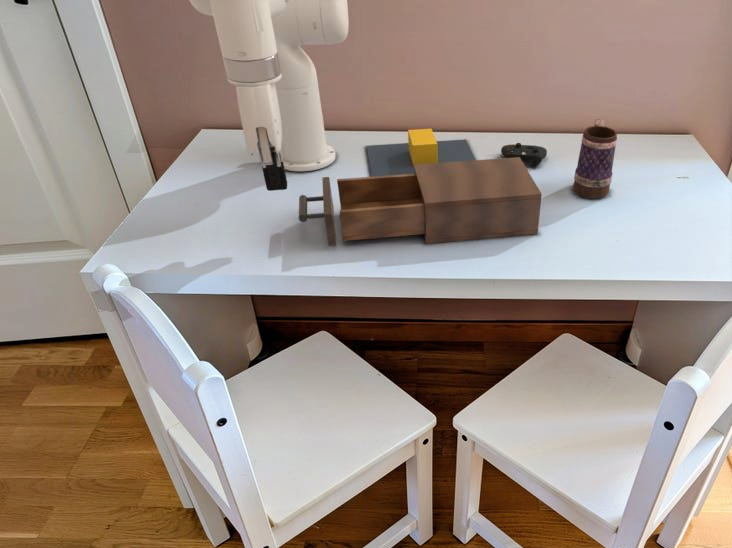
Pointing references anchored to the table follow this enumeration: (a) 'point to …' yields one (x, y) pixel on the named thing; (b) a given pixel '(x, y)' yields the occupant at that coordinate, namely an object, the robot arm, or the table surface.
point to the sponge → (422, 146)
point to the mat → (399, 160)
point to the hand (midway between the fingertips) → (277, 187)
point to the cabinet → (478, 199)
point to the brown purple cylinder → (595, 161)
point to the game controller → (525, 153)
